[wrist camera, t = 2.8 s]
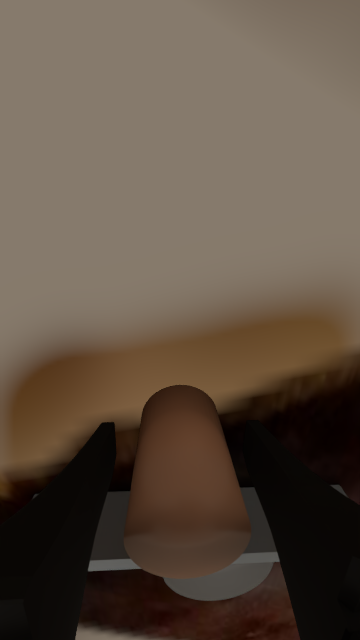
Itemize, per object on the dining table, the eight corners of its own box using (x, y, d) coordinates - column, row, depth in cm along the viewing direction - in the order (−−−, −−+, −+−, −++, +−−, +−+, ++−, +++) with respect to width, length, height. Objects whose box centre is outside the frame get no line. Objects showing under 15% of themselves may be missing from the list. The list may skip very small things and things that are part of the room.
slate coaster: (276, 511, 17) (281, 524, 16) (261, 583, 19) (265, 597, 18) (161, 516, 16) (161, 529, 15) (161, 588, 19) (161, 603, 18)
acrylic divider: (339, 484, 16) (384, 547, 13) (336, 493, 16) (379, 556, 13) (35, 493, 15) (-3, 564, 12) (36, 503, 15) (0, 575, 12)
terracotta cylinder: (219, 384, 13) (258, 488, 8) (214, 447, 15) (244, 575, 9) (140, 385, 13) (120, 493, 7) (142, 448, 14) (126, 582, 9)
